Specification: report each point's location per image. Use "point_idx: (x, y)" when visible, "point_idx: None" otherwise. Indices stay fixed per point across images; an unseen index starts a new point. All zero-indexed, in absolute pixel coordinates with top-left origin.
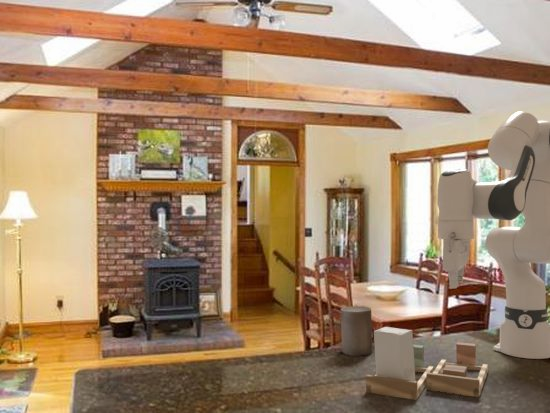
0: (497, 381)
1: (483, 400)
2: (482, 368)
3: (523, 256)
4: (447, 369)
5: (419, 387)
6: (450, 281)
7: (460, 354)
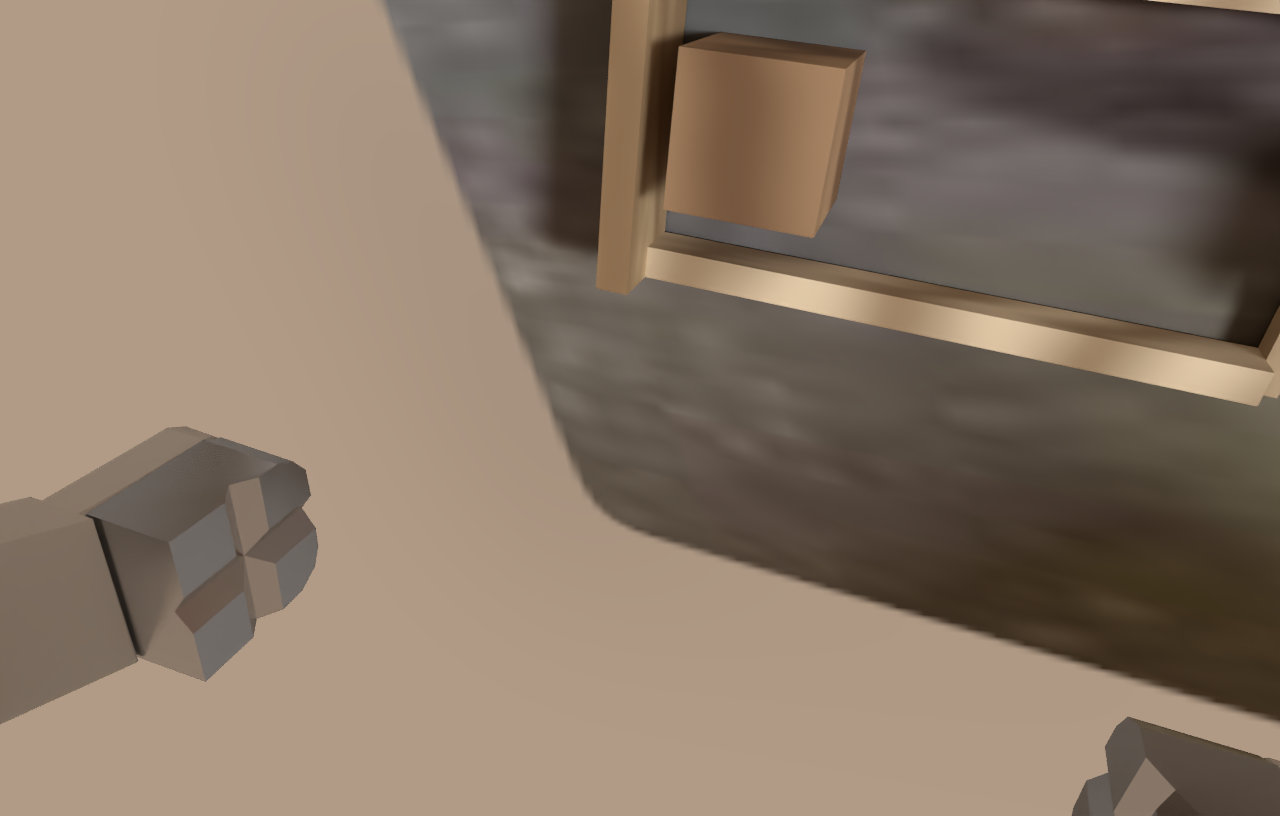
0: (989, 401)
1: None
2: (1110, 348)
3: None
4: (692, 82)
5: None
6: (58, 514)
7: None
